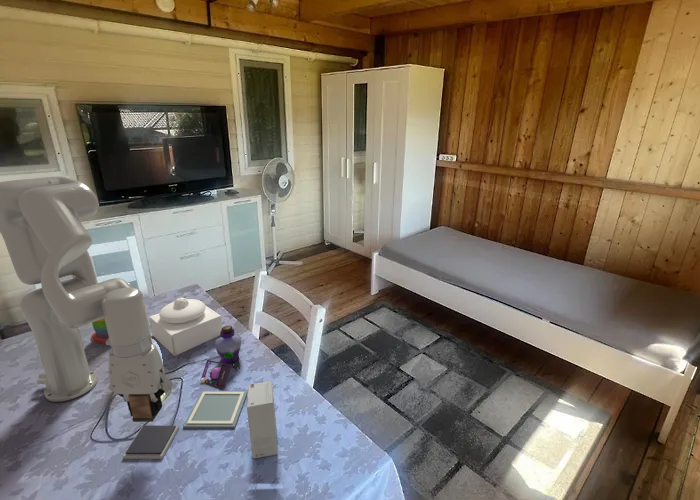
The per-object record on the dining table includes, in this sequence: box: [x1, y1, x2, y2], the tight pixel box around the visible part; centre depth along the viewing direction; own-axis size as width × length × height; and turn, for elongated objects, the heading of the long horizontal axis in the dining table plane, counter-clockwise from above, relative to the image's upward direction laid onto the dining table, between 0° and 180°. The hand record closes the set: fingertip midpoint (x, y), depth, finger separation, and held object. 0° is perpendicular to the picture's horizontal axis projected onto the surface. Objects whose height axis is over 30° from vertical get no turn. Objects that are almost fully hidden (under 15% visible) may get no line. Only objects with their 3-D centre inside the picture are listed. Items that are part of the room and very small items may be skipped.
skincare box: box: [246, 380, 278, 459], centre depth 87 cm, size 8×6×15 cm
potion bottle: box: [214, 325, 242, 364], centre depth 118 cm, size 9×9×12 cm
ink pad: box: [122, 424, 180, 460], centre depth 89 cm, size 9×9×1 cm
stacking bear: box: [91, 318, 109, 344], centre depth 129 cm, size 11×10×18 cm
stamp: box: [128, 394, 161, 423], centre depth 85 cm, size 4×4×7 cm
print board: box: [182, 390, 248, 429], centre depth 99 cm, size 13×13×1 cm
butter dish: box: [148, 296, 223, 357], centre depth 130 cm, size 18×18×16 cm
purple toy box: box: [200, 359, 232, 389], centre depth 111 cm, size 7×5×9 cm
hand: (146, 411), depth 86 cm, fingers closed on stamp, 4 cm apart
